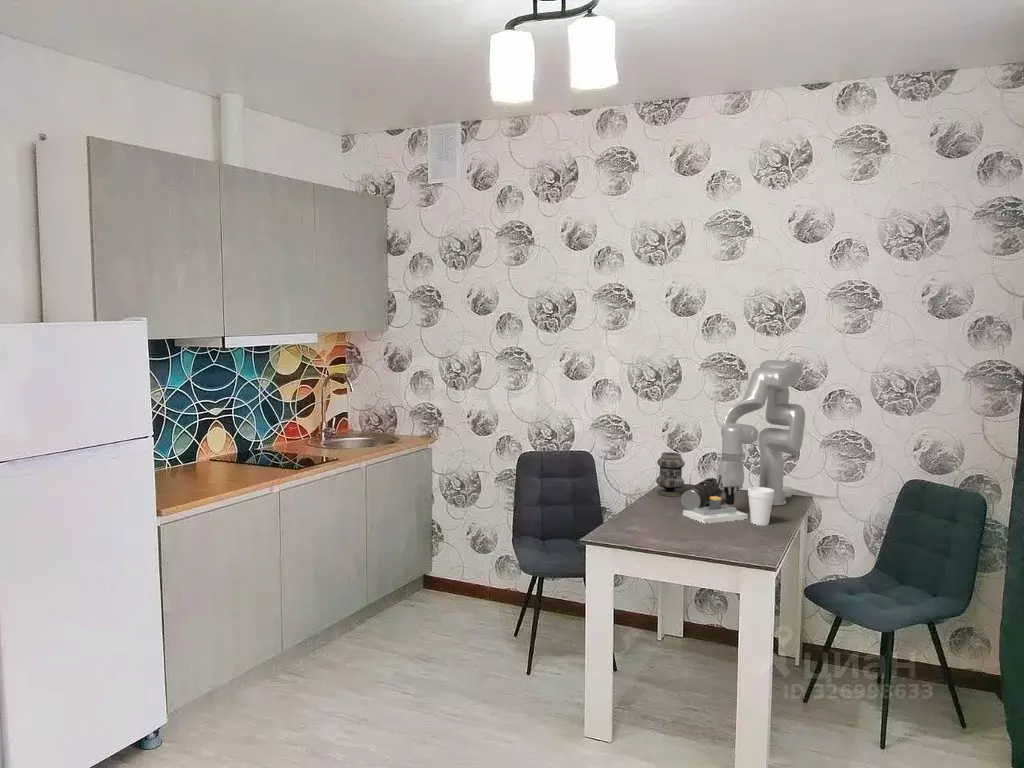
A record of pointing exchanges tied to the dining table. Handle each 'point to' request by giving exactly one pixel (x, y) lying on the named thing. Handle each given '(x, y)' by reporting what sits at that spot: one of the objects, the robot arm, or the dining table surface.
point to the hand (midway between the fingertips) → (729, 503)
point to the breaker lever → (714, 503)
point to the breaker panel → (715, 514)
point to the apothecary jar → (670, 473)
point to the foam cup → (760, 504)
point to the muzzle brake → (700, 494)
